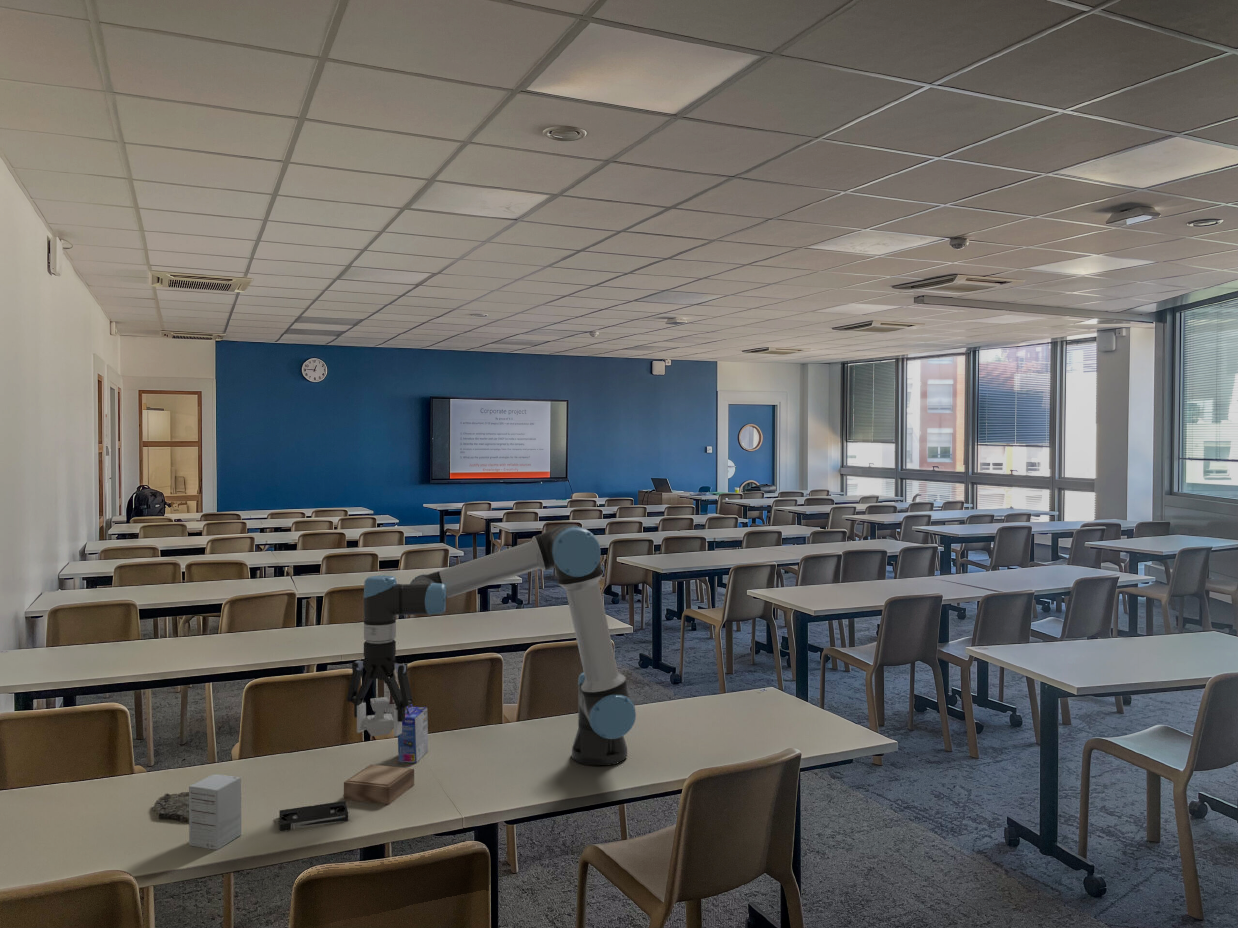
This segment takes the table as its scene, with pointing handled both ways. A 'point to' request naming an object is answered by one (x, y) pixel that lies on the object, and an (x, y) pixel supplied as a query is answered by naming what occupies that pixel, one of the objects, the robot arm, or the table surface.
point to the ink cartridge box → (413, 735)
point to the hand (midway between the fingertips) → (379, 732)
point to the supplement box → (214, 811)
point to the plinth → (379, 784)
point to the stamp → (379, 718)
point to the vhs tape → (312, 815)
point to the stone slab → (173, 806)
